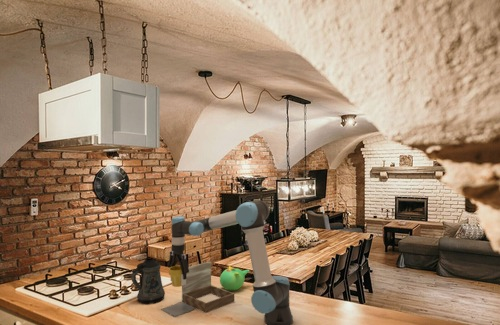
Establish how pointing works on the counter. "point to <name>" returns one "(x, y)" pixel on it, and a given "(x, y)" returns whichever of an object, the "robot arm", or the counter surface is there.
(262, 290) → the robot arm
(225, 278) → the toy bird
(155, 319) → the counter surface
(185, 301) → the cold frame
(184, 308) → the slate pad
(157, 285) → the beer stein
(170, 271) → the plant pot
